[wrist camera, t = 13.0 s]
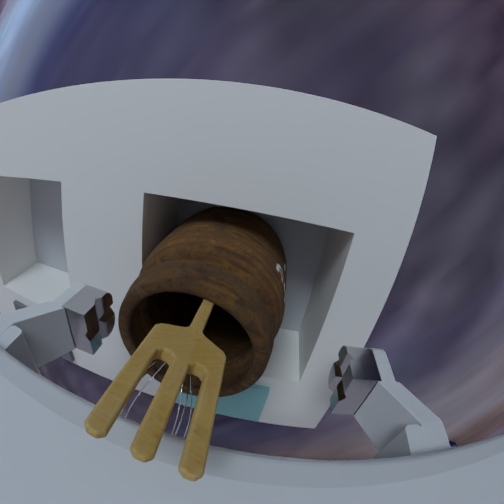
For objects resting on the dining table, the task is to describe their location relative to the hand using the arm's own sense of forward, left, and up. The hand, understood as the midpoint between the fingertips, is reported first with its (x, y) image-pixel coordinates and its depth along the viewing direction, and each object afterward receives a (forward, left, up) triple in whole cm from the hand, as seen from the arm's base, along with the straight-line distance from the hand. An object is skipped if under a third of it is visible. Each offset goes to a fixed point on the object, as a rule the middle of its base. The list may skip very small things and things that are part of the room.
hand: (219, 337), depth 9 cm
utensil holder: (+1, 0, -6) cm, 6 cm away
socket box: (+6, 0, -7) cm, 9 cm away
